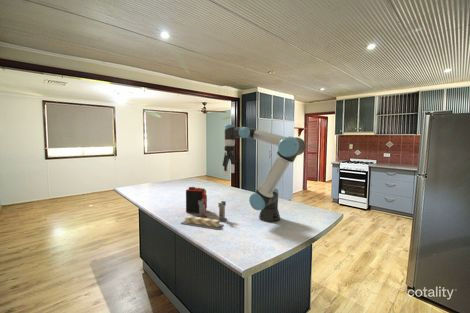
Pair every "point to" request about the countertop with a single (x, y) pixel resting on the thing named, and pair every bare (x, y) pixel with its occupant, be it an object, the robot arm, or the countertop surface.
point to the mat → (203, 225)
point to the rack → (220, 218)
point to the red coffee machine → (195, 199)
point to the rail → (202, 221)
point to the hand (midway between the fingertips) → (229, 174)
